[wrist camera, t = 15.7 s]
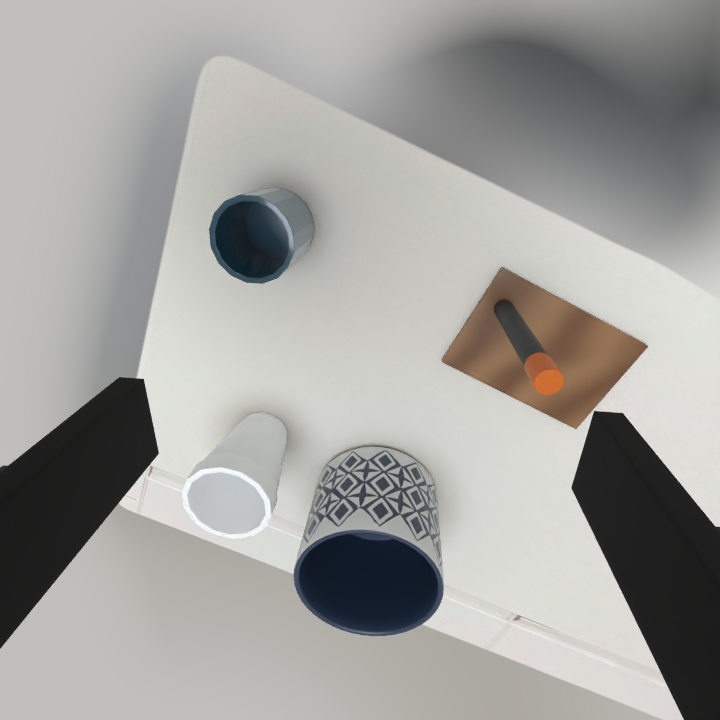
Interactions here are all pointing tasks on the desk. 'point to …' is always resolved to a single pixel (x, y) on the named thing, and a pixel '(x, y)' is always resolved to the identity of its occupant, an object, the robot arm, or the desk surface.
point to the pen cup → (261, 234)
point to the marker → (529, 350)
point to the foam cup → (238, 479)
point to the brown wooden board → (558, 338)
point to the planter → (372, 544)
